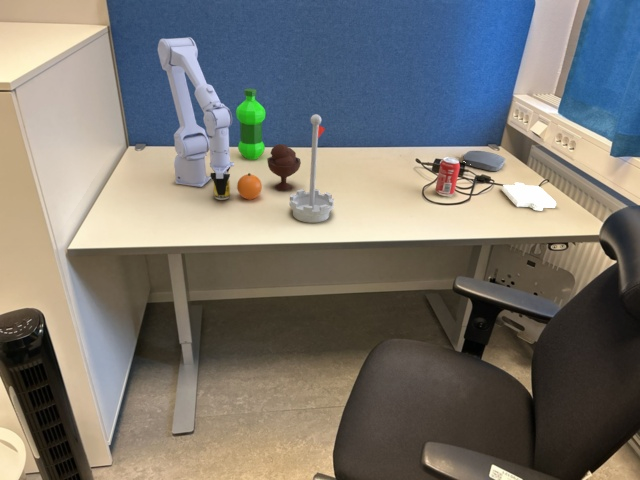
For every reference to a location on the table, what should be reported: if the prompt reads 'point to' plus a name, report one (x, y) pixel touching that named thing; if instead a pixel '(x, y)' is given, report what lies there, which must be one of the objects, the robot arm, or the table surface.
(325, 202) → the flag stand
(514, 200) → the mounting plate
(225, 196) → the supplement bottle
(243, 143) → the plastic bottle
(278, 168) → the ice cream bowl
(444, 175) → the beverage can
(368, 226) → the table surface
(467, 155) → the media streaming box
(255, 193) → the orange
